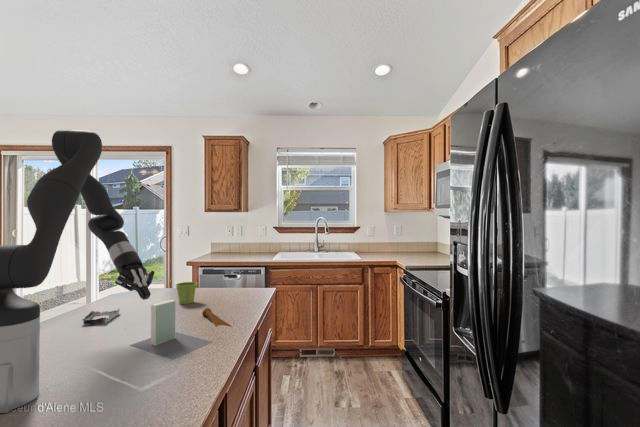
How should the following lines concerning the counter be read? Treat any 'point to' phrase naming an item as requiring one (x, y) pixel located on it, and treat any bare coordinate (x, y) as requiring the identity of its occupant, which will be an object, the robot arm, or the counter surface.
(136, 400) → the counter surface
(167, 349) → the rubber mat
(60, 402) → the counter surface
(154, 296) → the counter surface
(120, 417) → the counter surface
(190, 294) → the plant pot
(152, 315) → the cream white block
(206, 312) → the primitive tool
